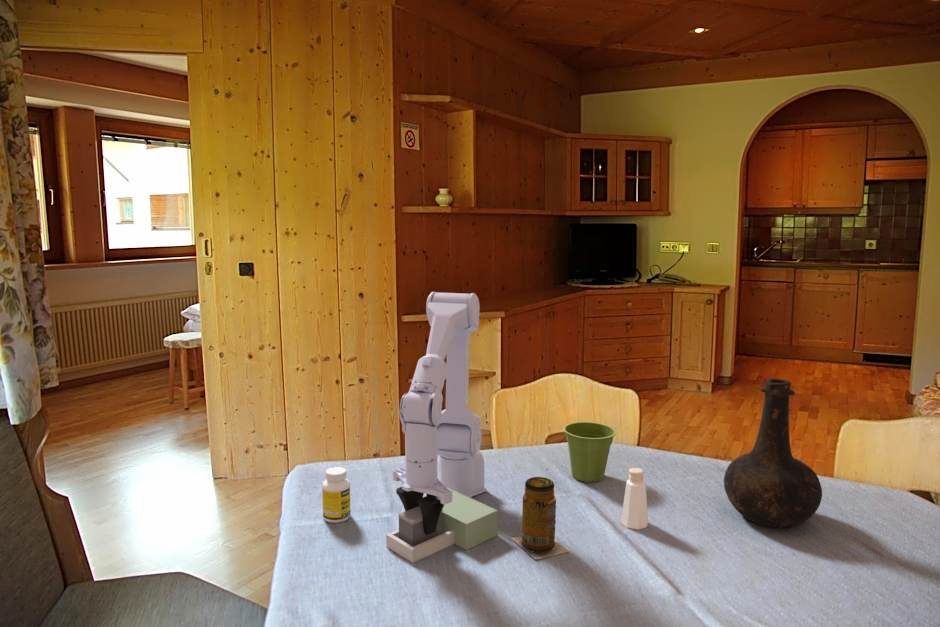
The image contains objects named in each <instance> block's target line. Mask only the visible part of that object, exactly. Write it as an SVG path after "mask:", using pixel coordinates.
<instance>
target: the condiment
mask: <svg viewBox="0 0 940 627" xmlns="http://www.w3.org/2000/svg"><path fill="white" fill-rule="evenodd" d="M524 483H525V484H524V494H523V496H522V512H521V513H522V516H521V517H522V518H521V520H522V521H521V522H522V523H521V536H515V537H512V538H511V540H512V541H513V542H514V543H515V544H516V545H518V547H520V548H521V549H522V550H524V551H525V552H526V554H528V555H530V557H532V558H533V559H534V560H541V559H545V558H551V557H553V556H555V557H556V556H558V555H562V554H565V553H569V552H570V550H569V549H568V548H567V547H566V546H564V545H563V544H562V543H561V542H559V540H556V539H555V538H556V536H555V535H556V517H557V515H556V512H557V506H556V505H557V499H556V496H555V483H554V481H553V480H552V479H550V478H548V477H543V476H534V477H533V476H532V477H529V478H528V479H526V481H525V482H524Z"/></svg>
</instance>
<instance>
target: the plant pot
mask: <svg viewBox="0 0 940 627" xmlns="http://www.w3.org/2000/svg"><path fill="white" fill-rule="evenodd" d="M562 430H563V432H564V433H565V435H566V436H565V437H566V438H565V439H566V442H567V446H568V454H569V455H568V456H569V461H570V470H571V476H572V477H574V478H575V479H576V480H577V481H581V482H586V483H593V482H595V481H602V480H603V479H604V477H605V473H606V469H607V463H608V458H609V453H610V450H611V445H612V444H613V440H614V437H615V436H616V435H617V430H616V428H613V427H612V426H610V425H608V424H605V423H600V422H595V421H575V422H570V423H568V424H566V425H564V426H563V429H562Z"/></svg>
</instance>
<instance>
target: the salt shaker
mask: <svg viewBox="0 0 940 627" xmlns="http://www.w3.org/2000/svg"><path fill="white" fill-rule="evenodd" d="M628 472H629V477H628V478H629V479H627V480H626V484H625V490H624V496H623V504H622V510H621V517H620V524H621V525H622V526H624V527H626V528H627V529H632V530H643V529H646V528H648V524H649V517H648V515H649V514H648V503H647V502H648V500H647V499H648V498H647V485H646V482H645V481H644V474H645V471H644V469H641V468H639V467H631V468H630V469H629V470H628Z"/></svg>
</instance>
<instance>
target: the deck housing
mask: <svg viewBox="0 0 940 627" xmlns="http://www.w3.org/2000/svg"><path fill="white" fill-rule="evenodd" d="M448 489H449V490H451V491H452V502H450V503H448V504H445V505H444V507H443V534H441V535H439V536H436V537H434V538H432V539H430V540H427V541H425V542H423V543H421V544H418V545H416V546H414V547H413V546H411V545H409V544H408V543H406V542H404V541H402V540H401V539H399V528H398V529H395V530H394V531H391V532H389V533H386V535H385V537H386V548H388V549H389V550H391V551H392V552H394V553H395V554H398V555H399V556H401V557H402V558H404V559H406V560H407V561H409V562H410V563H412V564H413V563H415V562H418V561H420V560H422V559H424V558H426V557H428V556H431V555H433V554H436V553H437V552H440V551H442V550H444V549H446V548H448V547H450V546H453V545H456V546H459V547H460V548H462V549H464V551H465V550H466V551H468V550H470V549H472V548H473V547H475V546H477V545H480V544H482V543H485V542H486V541H488V540H490V539H492V538H495V537H496V536H498V509H496V508H493V507H492V506H489V505H487V504H484V503H482V502H480V501H478V500H476V499H474V498H473V497H471V498H470V497H467V496H465V495H463V494H461V493H459V492H457V491H454V490H452V489H450V488H448ZM423 497H426V495H425V496H424V495H423Z"/></svg>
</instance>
